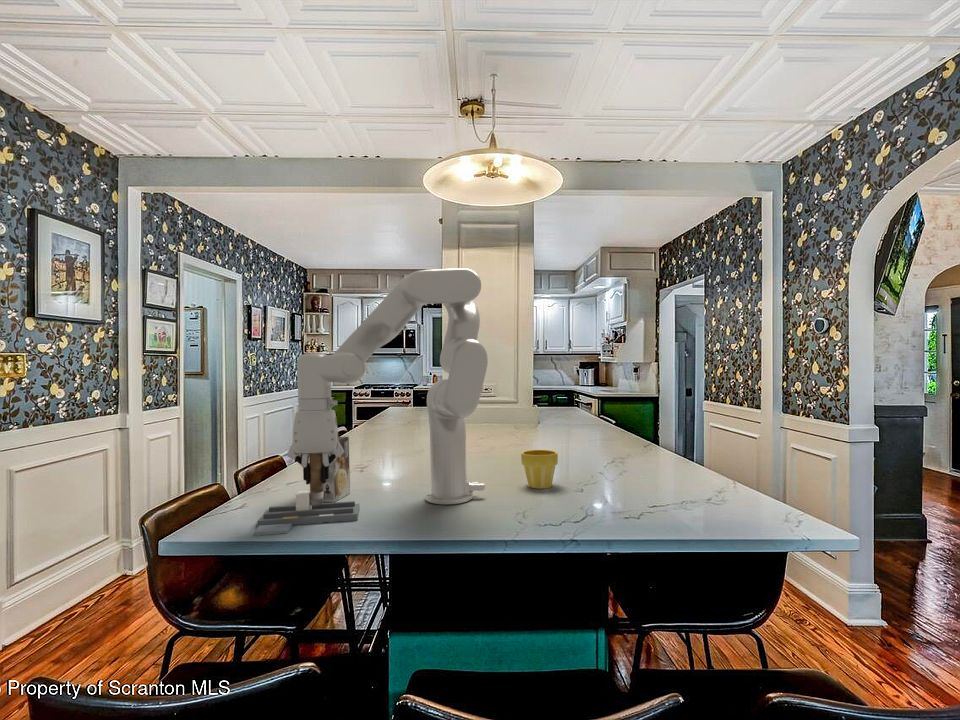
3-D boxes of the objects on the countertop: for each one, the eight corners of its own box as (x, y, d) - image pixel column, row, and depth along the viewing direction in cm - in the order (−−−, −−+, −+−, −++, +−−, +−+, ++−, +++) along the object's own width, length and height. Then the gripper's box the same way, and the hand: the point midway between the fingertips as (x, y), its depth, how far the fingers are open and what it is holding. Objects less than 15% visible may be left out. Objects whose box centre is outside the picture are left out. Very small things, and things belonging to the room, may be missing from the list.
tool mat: (291, 525, 119) (291, 523, 119) (287, 532, 114) (287, 530, 114) (259, 528, 118) (259, 525, 118) (253, 535, 113) (253, 532, 113)
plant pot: (533, 480, 158) (532, 447, 158) (564, 484, 152) (563, 450, 152) (515, 487, 149) (514, 453, 149) (547, 492, 143) (546, 456, 143)
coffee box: (329, 492, 148) (328, 436, 148) (350, 493, 147) (349, 436, 147) (313, 501, 139) (311, 441, 139) (335, 502, 138) (334, 441, 138)
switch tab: (311, 508, 126) (311, 490, 126) (309, 513, 123) (308, 494, 123) (298, 509, 126) (298, 491, 126) (296, 514, 122) (295, 495, 122)
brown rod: (324, 501, 126) (323, 443, 126) (322, 505, 123) (321, 445, 123) (311, 502, 126) (310, 444, 126) (309, 506, 123) (308, 446, 123)
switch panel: (359, 509, 131) (359, 499, 131) (357, 520, 122) (357, 509, 122) (266, 515, 127) (266, 505, 127) (257, 527, 118) (257, 516, 118)
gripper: (351, 403, 130) (352, 477, 130) (282, 405, 127) (283, 481, 127) (348, 405, 122) (350, 484, 122) (275, 408, 120) (277, 488, 120)
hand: (316, 482), depth 125 cm, fingers closed on brown rod, 3 cm apart
